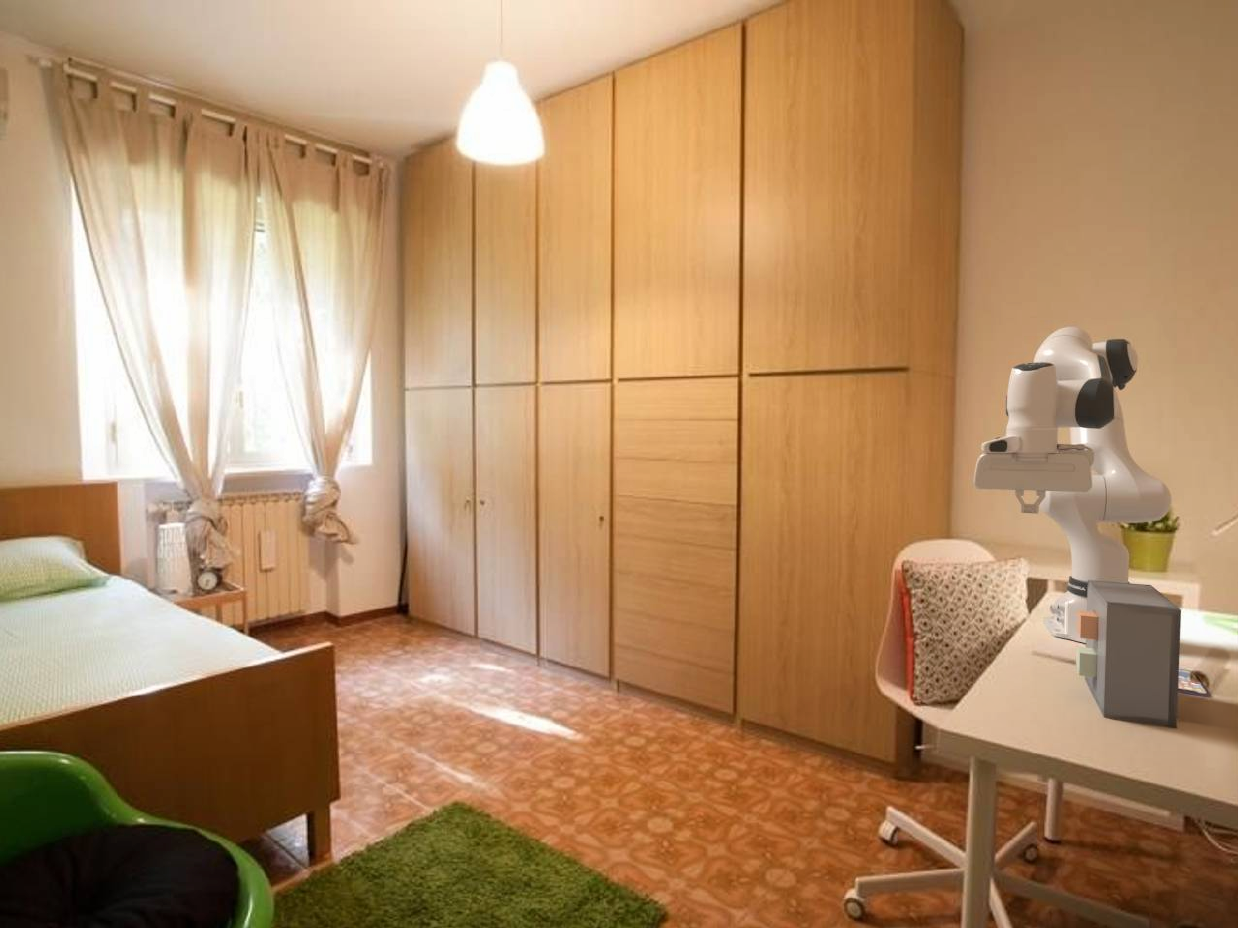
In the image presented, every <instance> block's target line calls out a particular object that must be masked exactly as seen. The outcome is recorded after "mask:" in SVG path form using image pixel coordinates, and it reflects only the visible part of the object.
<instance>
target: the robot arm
mask: <svg viewBox="0 0 1238 928" xmlns="http://www.w3.org/2000/svg"><path fill="white" fill-rule="evenodd" d="M1138 363H1139V357H1138V353H1137V351H1136V350H1135V348H1134V346H1132V344H1131V342H1130V341H1128V340H1126V339H1124V338H1113V339H1112V338H1111V339H1107V340H1106V341H1101V342H1095V343H1093V341H1092V337H1091V336H1090V334H1089V333H1088V332H1087V331H1085V329H1083V328H1080V327H1076V326H1066V327H1062V328H1059V329H1057V330H1055V331H1053V332H1052V333H1051V334H1049V335H1048V336H1047V337H1046V338H1045V339H1044V340H1043V342H1042V343H1041V344H1040V346H1039V347H1038V349H1037V351H1036V353H1035V355H1034V358H1033V362H1028V363H1020V364H1017V365H1015V366H1013V367H1011V371H1010V373H1009V374H1010V375H1009V380H1008V385H1007V393H1006V398H1005V414H1006V416H1007V418H1008V421H1007V425H1006V427H1005V429H1006V430H1005V435H1004V436H1002V437H1001V436H1000V437H999V436H998V437H996V438H995V439H990V440H987V441H984V442H982V443H981V445H980V449H981V452H982V454H980V455H979V456H978V458H977V460H976V463H975V468H974V473H973V487H975V488H976V489H978V490H1001V491H1006V490H1007V491H1014V495H1015V498H1017V500H1018V502H1019V503H1020V513H1021V514H1034V515H1035V514H1039V511H1040V509H1041V512H1043V513H1044V514H1045V515H1046V516H1047V517H1049V518H1050V519H1051V520H1053V521H1054V522H1055V523H1056V524H1057V526H1059V527H1060V528H1061V529H1062V530H1063V532H1064V533H1065V536H1066V537H1067V541H1068V543H1069V546H1070V556H1071V557H1070V558H1071V572H1070V573H1071V575H1070V576H1068V581H1067V587H1066V590H1067V591H1066V592H1065V593H1064V594H1062V595H1061V596H1060V597H1059V598H1057V599H1056V600H1055V602H1054V604H1050V607H1049V611H1050V614H1051V615H1053V616H1045V617H1043V619H1042V622H1043V623H1044V625H1045V627H1046V628H1047V629H1048V630H1049V632H1050V633H1051V635H1053V637H1057V638H1063V639H1067V640H1072V641H1074V642H1075V641H1076V642H1080V643H1084V644H1086V638H1080V636H1079V635H1078V633H1077V611H1078V610H1083V611H1087V592H1088V580H1094V581H1106V582H1119V583H1131V582H1130V581H1129V572H1130V571H1129V568H1130V567H1129V565H1130V552H1129V550H1128V547H1126V545H1124V544H1123V543H1122V541H1119V540H1117V539H1116V538H1114V537H1111V536H1110V535H1108V534H1104V533H1103V532H1102V531H1100V530H1099V527H1098V524H1099V523H1102V522H1103V523H1104V522H1105V523H1106V522H1107V523H1124V524H1125V523H1126V524H1127V523H1129V524H1130V523H1131V524H1138V523H1140V524H1141V523H1148V522H1156V521H1160V520H1161V519H1162V518H1164V517H1165V516H1166V515H1167V514H1168V513H1169V511H1170V508H1171V507H1172V494H1171V492H1170V490H1169V487H1167V485H1166V484H1165V483H1164V482H1163V481H1162V480H1161V479H1159V478H1156V477H1155V476H1152V475H1151V474H1150V473H1148V472H1146V471H1145V470H1144V469H1143V468H1142V467H1140V466H1139V465H1138V464H1137V463H1136V461H1135V460H1134V458H1133V457H1132V455H1131V453H1130V452H1129V447H1128V444H1127V438H1126V437H1127V436H1126V430H1125V421H1124V416H1123V414H1124V413H1123V411H1122V406H1121V403H1120V400H1119V396H1118V392H1117V390H1116V388H1117V387H1118V390H1119V391H1123V390H1124V389H1125V388H1126V385H1127V383H1129V382H1130V381H1131V380H1132V379H1133V378H1134V376H1135V375H1136V373H1137V368H1138ZM1059 428H1069V437H1070V438H1069V439H1070V444H1067V443H1058V436H1059V433H1058V432H1059V430H1058V429H1059ZM1091 470H1092V471H1094V472H1096V474H1092V471H1091ZM1025 491H1031V492H1032V491H1033V492H1034V491H1035V492H1036V497H1037V499H1036V500H1035V501H1034V503H1025V501H1024V500H1023V498H1022V497H1023V496H1024V495H1025V494H1024V493H1025ZM1039 508H1040V509H1039Z"/></svg>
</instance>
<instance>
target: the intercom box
mask: <svg viewBox="0 0 1238 928" xmlns="http://www.w3.org/2000/svg"><path fill="white" fill-rule="evenodd" d="M1087 611H1094V612H1096V613H1097V614H1098V616H1099V618H1098V640H1095V639H1086V643H1085V647H1086V648H1094V649H1095V651H1096V652H1097V677H1089V676H1084V680H1085V682H1086V685H1087V687H1088V689H1089V691H1090V692H1091V694H1092V697H1093V698H1094V699H1093V700H1095V702H1096V704H1097V706H1098V709H1099V711H1100V712H1101V713H1100V714H1101V715H1102V718H1106V719H1113V720H1119V721H1124V722H1133V723H1136V724H1137V723H1138V724H1144V725H1149V726H1157V727H1163V728H1164V727H1166V728H1171V729H1178V711H1179V710H1178V707H1179V702H1178V701H1179V693H1178V682H1179V669H1180V653H1181V650H1180V649H1181V625H1182V623H1181V622H1182V621H1181V619H1182V609H1181V608H1180V607H1178V606H1177V605H1176V604H1175V603H1173V602H1172V601H1171V600H1170V599H1169V598H1167V597H1166V596H1165V595H1164V594H1162V593H1161V592H1160V591H1159V590H1158V589H1156V588H1155V587H1154V586H1153V585H1151V584H1143V583H1141V584H1140V583H1131V582H1130V583H1119V582H1106V581H1094V580H1088V592H1087Z"/></svg>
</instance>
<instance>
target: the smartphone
mask: <svg viewBox="0 0 1238 928" xmlns="http://www.w3.org/2000/svg"><path fill="white" fill-rule="evenodd" d="M1191 671H1192V670H1190V669H1183V668H1179V682H1178V694H1185V695H1191V696H1198V697H1203V698H1204V697H1206V698H1208V697H1210V693H1209V691H1208V690H1207V688H1206V687H1205V686H1204V685H1203V683H1202V684H1195V683H1191V682H1189V681H1188V680H1187V678H1189V673H1190V672H1191Z"/></svg>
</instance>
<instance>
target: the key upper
mask: <svg viewBox="0 0 1238 928" xmlns="http://www.w3.org/2000/svg"><path fill="white" fill-rule="evenodd" d="M1098 618H1099V616H1098V614H1097V613H1096V612H1094V611H1083V610H1078V611H1077V633H1078V635H1079V636H1080V638H1086V639H1095V640H1098Z"/></svg>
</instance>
